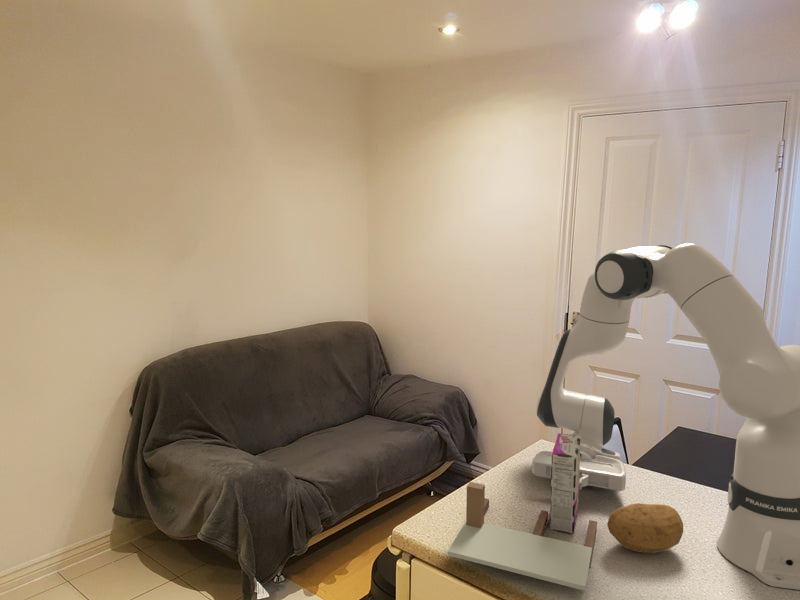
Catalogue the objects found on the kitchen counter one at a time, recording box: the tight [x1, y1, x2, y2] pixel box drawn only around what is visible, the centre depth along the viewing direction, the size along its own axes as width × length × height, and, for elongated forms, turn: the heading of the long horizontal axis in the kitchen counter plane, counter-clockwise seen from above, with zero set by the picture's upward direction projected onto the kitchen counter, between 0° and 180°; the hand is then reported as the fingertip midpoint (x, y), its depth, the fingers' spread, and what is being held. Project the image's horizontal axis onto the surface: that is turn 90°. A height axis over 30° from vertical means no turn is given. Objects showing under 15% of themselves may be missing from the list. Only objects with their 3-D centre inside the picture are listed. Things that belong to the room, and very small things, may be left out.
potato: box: [606, 502, 684, 553], centre depth 103 cm, size 10×14×8 cm
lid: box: [447, 481, 592, 592], centre depth 98 cm, size 24×12×9 cm, turn 66°
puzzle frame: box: [484, 497, 598, 569], centre depth 108 cm, size 24×13×2 cm, turn 66°
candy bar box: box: [549, 433, 581, 535], centre depth 113 cm, size 11×5×16 cm, turn 158°
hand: (574, 485), depth 118 cm, fingers closed, pressing on candy bar box
